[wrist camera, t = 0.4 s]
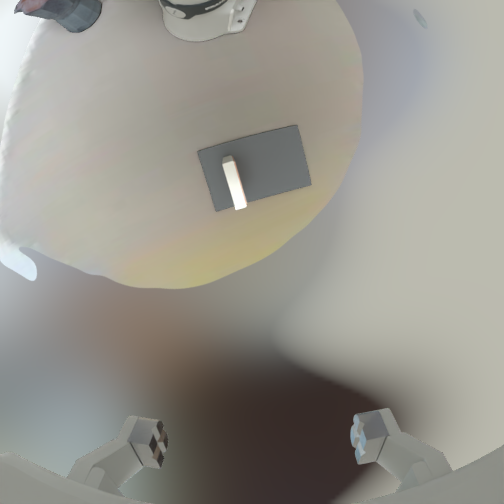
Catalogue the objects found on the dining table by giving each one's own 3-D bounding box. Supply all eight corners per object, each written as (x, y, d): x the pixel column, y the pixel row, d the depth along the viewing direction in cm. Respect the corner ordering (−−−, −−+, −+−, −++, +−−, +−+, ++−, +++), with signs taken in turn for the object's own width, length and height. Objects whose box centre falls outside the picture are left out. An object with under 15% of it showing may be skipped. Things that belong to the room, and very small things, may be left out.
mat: (216, 210, 56) (216, 211, 55) (197, 151, 51) (197, 151, 50) (310, 184, 55) (311, 185, 55) (296, 124, 50) (297, 124, 50)
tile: (233, 193, 54) (235, 210, 42) (222, 157, 51) (222, 164, 39) (242, 190, 54) (248, 206, 42) (232, 154, 51) (234, 160, 39)
